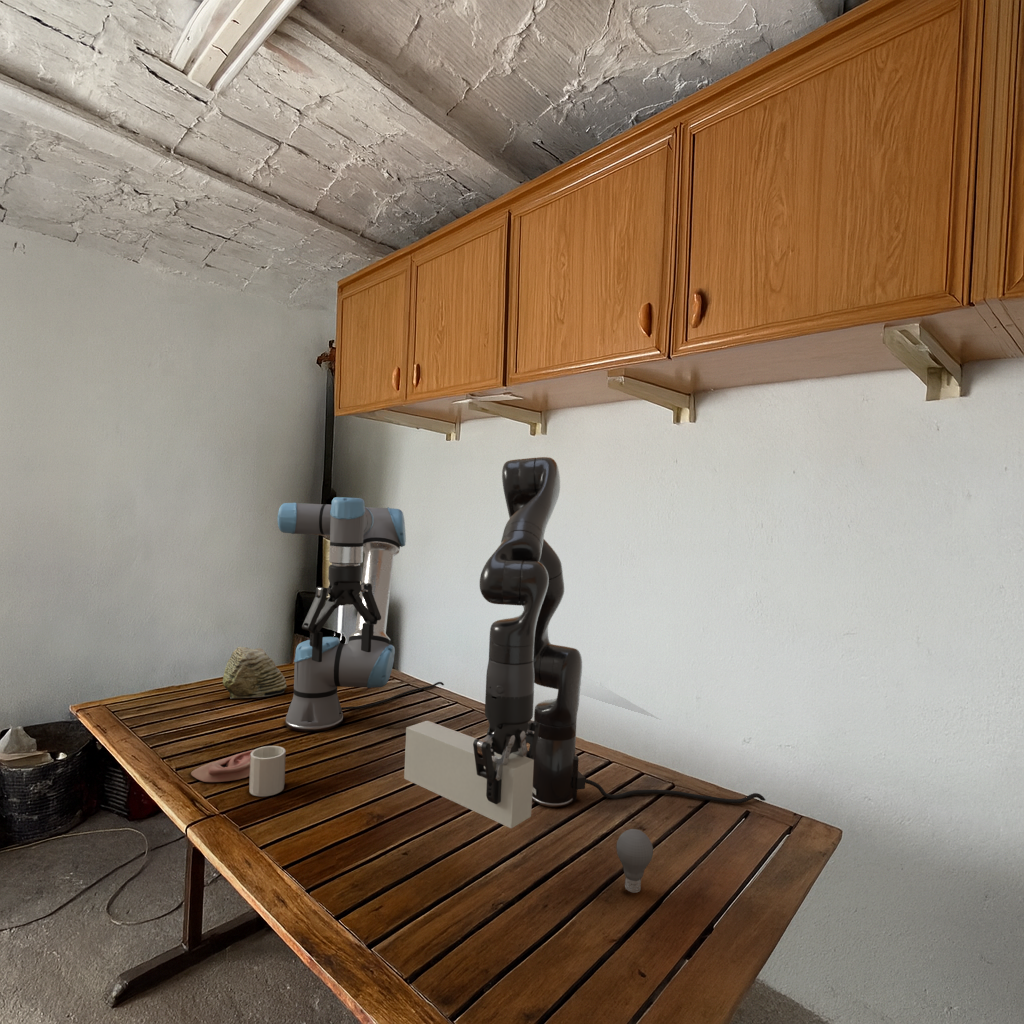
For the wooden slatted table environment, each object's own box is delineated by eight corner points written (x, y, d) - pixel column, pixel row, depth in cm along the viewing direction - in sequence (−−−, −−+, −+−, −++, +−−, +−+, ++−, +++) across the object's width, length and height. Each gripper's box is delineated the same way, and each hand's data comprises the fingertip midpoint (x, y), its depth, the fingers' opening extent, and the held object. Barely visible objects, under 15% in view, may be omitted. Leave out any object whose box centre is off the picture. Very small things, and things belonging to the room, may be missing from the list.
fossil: (218, 695, 195) (220, 647, 195) (278, 685, 208) (279, 640, 207) (228, 703, 189) (230, 653, 188) (289, 692, 201) (290, 645, 201)
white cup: (272, 778, 141) (274, 743, 141) (290, 788, 137) (291, 752, 137) (242, 789, 136) (244, 752, 136) (260, 799, 131) (261, 761, 131)
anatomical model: (182, 760, 139) (216, 741, 150) (181, 778, 139) (216, 758, 150) (236, 768, 136) (267, 748, 147) (235, 786, 136) (266, 765, 147)
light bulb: (610, 879, 108) (613, 822, 108) (644, 879, 109) (647, 822, 109) (619, 902, 102) (622, 840, 102) (655, 901, 103) (658, 840, 103)
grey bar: (403, 778, 110) (406, 727, 110) (425, 769, 114) (427, 720, 114) (511, 828, 95) (514, 769, 95) (531, 816, 99) (533, 759, 99)
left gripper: (377, 560, 158) (374, 644, 158) (287, 565, 139) (284, 661, 139) (398, 563, 153) (394, 650, 154) (307, 569, 134) (304, 668, 134)
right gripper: (519, 674, 107) (515, 774, 107) (460, 691, 95) (456, 803, 96) (556, 683, 102) (551, 788, 102) (498, 703, 91) (493, 821, 91)
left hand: (342, 656), depth 146 cm, fingers open, 13 cm apart
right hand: (505, 795), depth 99 cm, fingers closed on grey bar, 5 cm apart
